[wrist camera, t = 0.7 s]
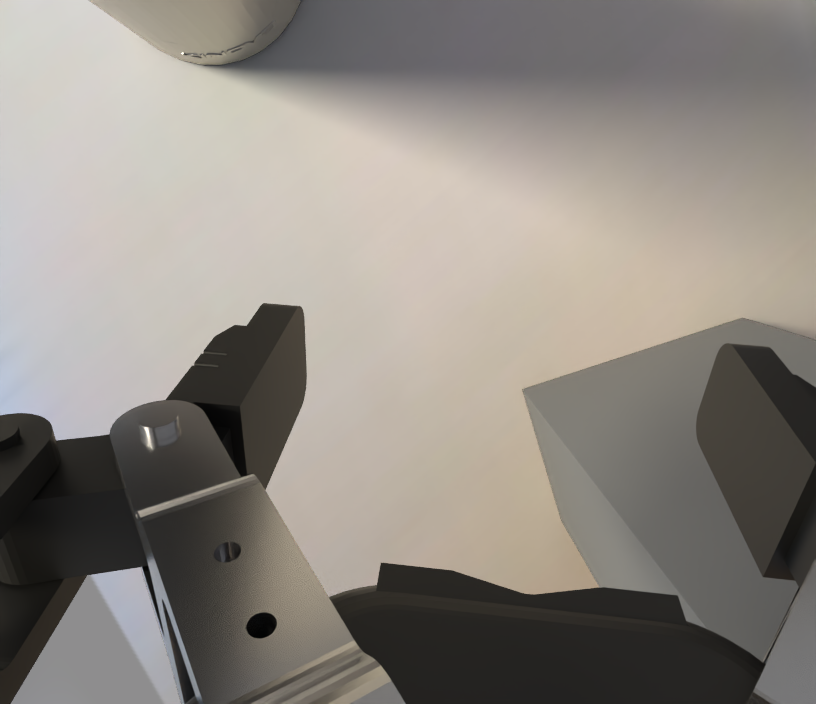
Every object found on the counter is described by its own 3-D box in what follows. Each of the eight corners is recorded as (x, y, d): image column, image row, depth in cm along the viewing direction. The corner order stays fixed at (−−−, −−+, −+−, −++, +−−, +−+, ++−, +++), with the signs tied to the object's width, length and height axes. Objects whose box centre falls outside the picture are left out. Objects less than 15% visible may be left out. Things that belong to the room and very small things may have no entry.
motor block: (522, 389, 33) (773, 713, 12) (742, 317, 33) (1408, 520, 12) (561, 520, 35) (840, 1007, 14) (770, 454, 35) (1392, 849, 13)
